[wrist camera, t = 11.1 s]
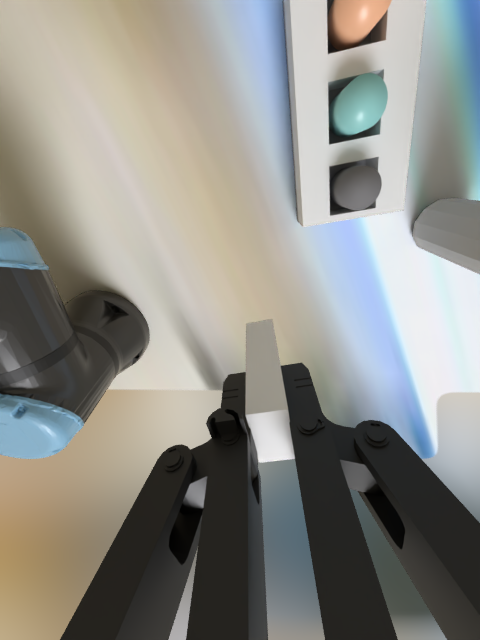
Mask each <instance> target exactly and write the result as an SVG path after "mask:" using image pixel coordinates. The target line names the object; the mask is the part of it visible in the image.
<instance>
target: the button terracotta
mask: <svg viewBox="0 0 480 640" xmlns="http://www.w3.org/2000/svg"><path fill="white" fill-rule="evenodd" d="M391 1H392V0H334V1H333V3H332V6H331V8H330V10H329V13H328V17H327V35H328V39H329V41H330V43H331V44H332V46H333V47H334V48H336V49H337V50H340V51H343V50H347V49H351V48H355V47H357V46H358V45H359V44H360V43H361V42H362V41H363V40H364V39H365V37H366V36H367V35H368V34H369V33H370V31H371V30H372V29H373V28H374V26H375V25H376V24H377V23H378V21H379V20H380V19H381V18H382V16H383V15H384V14H385V12H386V11H387V9H388V8H389V6H390V4H391Z"/></svg>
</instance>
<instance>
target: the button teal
mask: <svg viewBox="0 0 480 640" xmlns="http://www.w3.org/2000/svg"><path fill="white" fill-rule="evenodd" d="M387 100H388V91H387V87H386V84H385V82H384V81H383V79H382V78H381V77H380V76H378V75H376V74H373V73H365V74H362V75H359V76H358V77H356V78H355V79H354V80H352V81H351V82H350V83H349V84H348V85H347V86H346V87H345V88H344V89H343V90H342V91H341V92H340V93H339V94H338V95H337V96H336V97H335V98H334V100H333V101H332V103H331V105H330V108H329V111H328V114H329V127H330V129H331V131H332V132H333V133H334V134H335V135H337V136H339V137H349V136H352V135H354V134H357V133H359V132H362V131H364V130H366V129H369V128H370V127H372V126H373V125H375V124H376V123H377V122H378V120H379V119H380V118H381V116H382V115H383V113H384V111H385V108H386V105H387Z"/></svg>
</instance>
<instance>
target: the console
mask: <svg viewBox="0 0 480 640" xmlns="http://www.w3.org/2000/svg"><path fill="white" fill-rule="evenodd" d="M333 1H334V0H283V12H284V27H285V42H286V57H287V71H288V86H289V101H290V116H291V131H292V146H293V160H294V175H295V190H296V205H297V220H298V222H299V223H300V224H301V225H302V226H303V227H307V226H313V225H319V224H325V223H331V222H337V221H343V220H349V219H355V218H361V217H367V216H373V215H378V214H384V213H390V212H396V211H402V210H404V203H405V193H406V184H407V175H408V166H409V157H410V147H411V138H412V129H413V120H414V111H415V101H416V92H417V83H418V74H419V65H420V55H421V46H422V37H423V28H424V19H425V9H426V0H392V1H391V4H390V6H389V8H388V9H387V11H386V12H385V14H384V15H383V16H382V18H381V19H380V20H379V21H378V23H377V24H376V25H375V26H374V28H373V29H372V30H371V31H370V33H369V34H368V35H367V36H366V37H365V39H364V40H363V41H362V42H361V43H360V44H359V45H358V46H357V47H355V48H351V49H347V50H343V51H340V50H337V49H336V48H334V47H333V46H332V44H331V43H330V41H329V39H328V35H327V17H328V13H329V10H330V8H331V6H332V3H333ZM365 73H373V74H376V75H378V76H380V77H381V78H382V79H383V81H384V82H385V84H386V87H387V91H388V100H387V105H386V108H385V111H384V113H383V115H382V116H381V118H380V119H379V120H378V122H377V123H376V124H375V125H373V126H372V127H370V128H369V129H366V130H364V131H362V132H359V133H357V134H354V135H352V136H349V137H339V136H337V135H335V134H334V133H333V132H332V131H331V129H330V127H329V114H328V111H329V108H330V105H331V103H332V101H333V100H334V98H335V97H336V96H337V95H338V94H339V93H340V92H341V91H342V90H343V89H344V88H345V87H346V86H347V85H348V84H349V83H350V82H351V81H352V80H354V79H355V78H356V77H358V76H359V75H362V74H365ZM354 166H371V167H373V168H375V169H376V170H377V171H378V172H379V174H380V176H381V181H382V186H381V191H380V194H379V196H378V197H377V199H376V200H375V201H374V203H373V204H371V205H370V206H369V207H367V208H365V209H362V210H351V209H348V208H345V207H342V206H340V205H337V204H335V203H334V202H333V201H332V200H331V198H330V189H329V184H330V181H331V179H332V178H333V176H334V175H335V174H336V173H337V172H338V171H339V170H341V169H343V168H346V167H354Z"/></svg>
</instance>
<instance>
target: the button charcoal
mask: <svg viewBox="0 0 480 640" xmlns="http://www.w3.org/2000/svg"><path fill="white" fill-rule="evenodd" d="M381 186H382V181H381V176H380V174H379V172H378V171H377V170H376V169H375V168H373V167H371V166H354V167H346V168H343V169H341V170H339V171H338V172H337V173H336V174H335V175H334V176H333V178H332V179H331V181H330V184H329V189H330V198H331V200H332V201H333V202H334V203H335V204H337V205H340V206H342V207H345V208H348V209H351V210H362V209H365V208H367V207H369V206H370V205H371V204H373V203H374V201H375V200H376V199H377V197H378V196H379V194H380V191H381Z"/></svg>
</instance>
